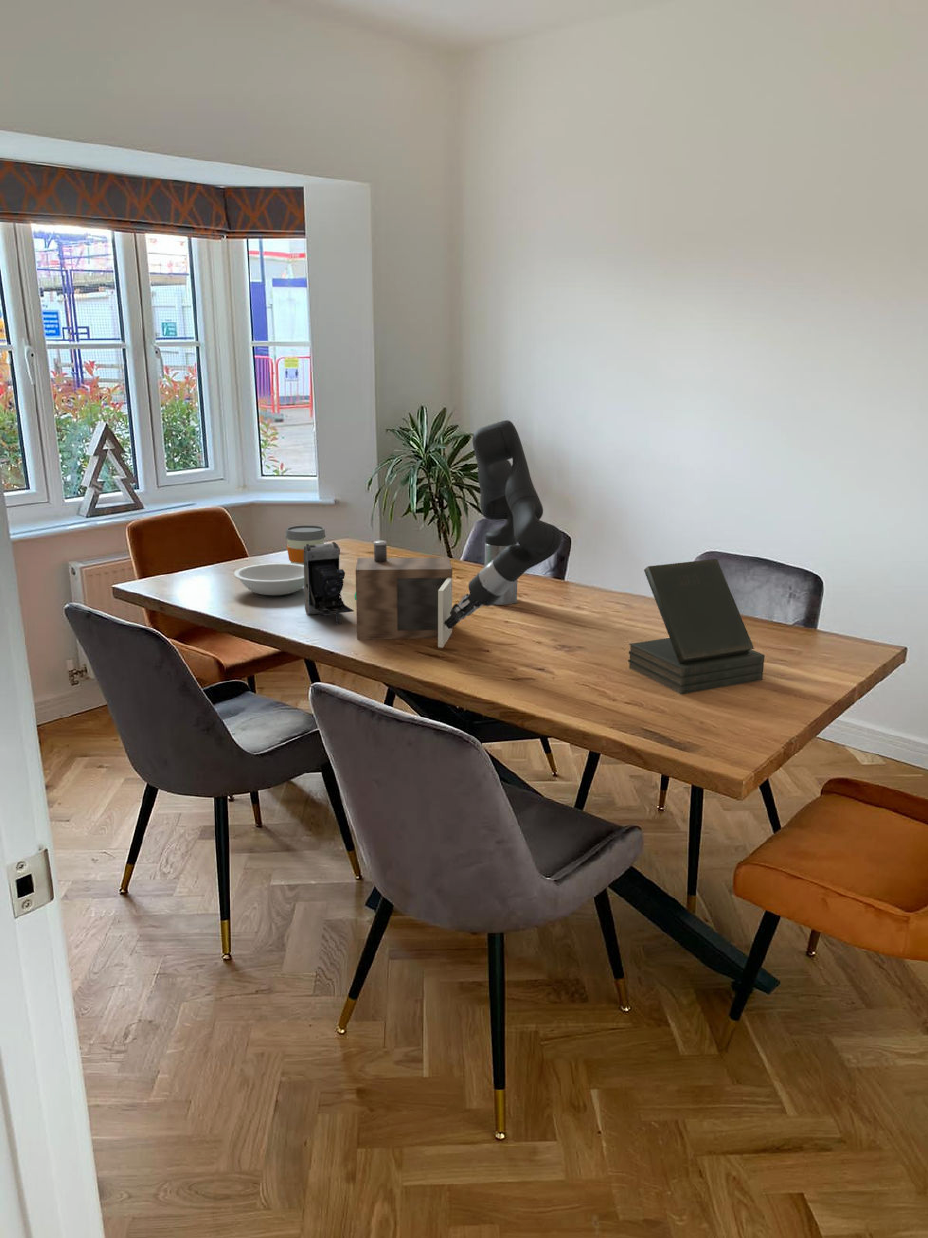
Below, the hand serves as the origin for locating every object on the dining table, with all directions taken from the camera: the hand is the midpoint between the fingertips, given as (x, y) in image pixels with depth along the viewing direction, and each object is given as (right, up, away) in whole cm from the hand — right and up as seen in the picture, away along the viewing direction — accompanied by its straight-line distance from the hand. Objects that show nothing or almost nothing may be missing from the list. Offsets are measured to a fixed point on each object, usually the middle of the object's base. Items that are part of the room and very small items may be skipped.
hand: (448, 625), depth 232 cm
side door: (-1, -3, +6) cm, 7 cm away
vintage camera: (-32, +2, +30) cm, 44 cm away
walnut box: (-12, -2, +19) cm, 22 cm away
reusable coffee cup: (-47, +16, +79) cm, 94 cm away
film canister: (-18, +17, +17) cm, 29 cm away
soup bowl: (-52, +9, +56) cm, 77 cm away
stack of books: (+56, -11, -12) cm, 59 cm away
